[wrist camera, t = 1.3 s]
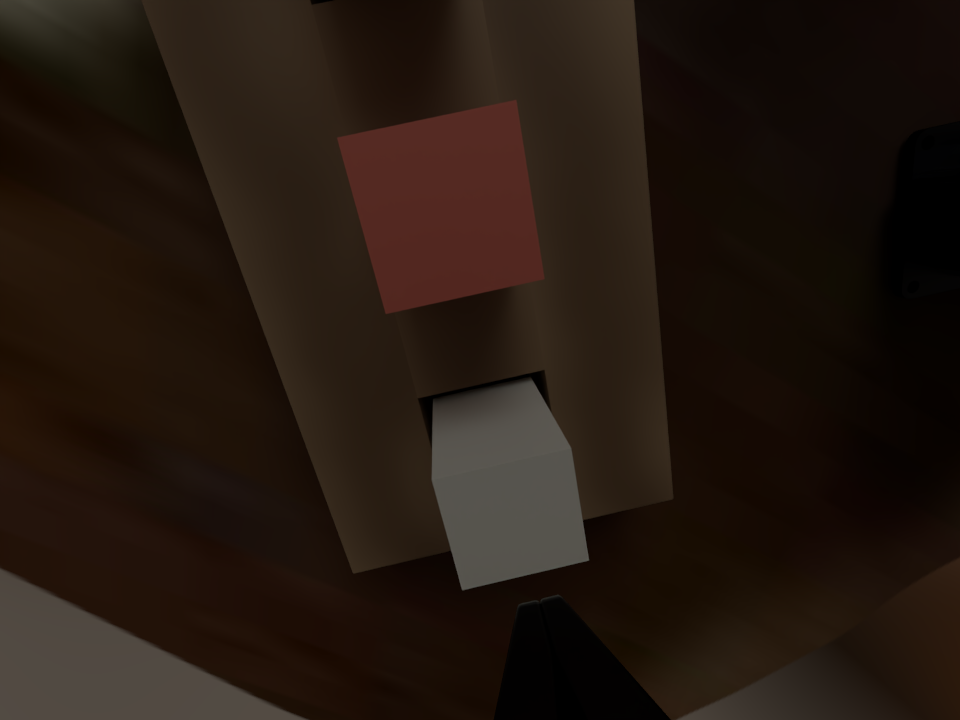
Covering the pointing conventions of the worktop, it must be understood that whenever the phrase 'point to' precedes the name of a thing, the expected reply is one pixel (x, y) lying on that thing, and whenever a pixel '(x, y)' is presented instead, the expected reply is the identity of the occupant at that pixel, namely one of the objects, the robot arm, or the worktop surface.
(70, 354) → the worktop surface
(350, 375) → the block
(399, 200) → the plug red
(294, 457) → the worktop surface
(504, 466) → the plug white
